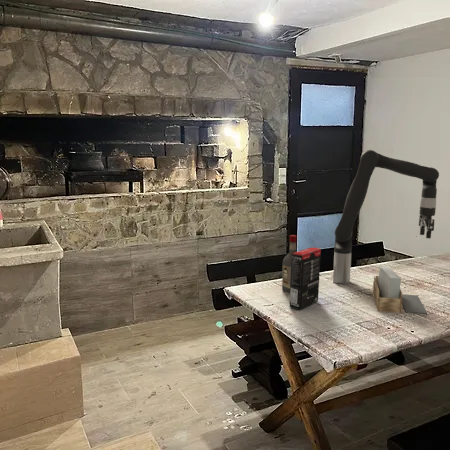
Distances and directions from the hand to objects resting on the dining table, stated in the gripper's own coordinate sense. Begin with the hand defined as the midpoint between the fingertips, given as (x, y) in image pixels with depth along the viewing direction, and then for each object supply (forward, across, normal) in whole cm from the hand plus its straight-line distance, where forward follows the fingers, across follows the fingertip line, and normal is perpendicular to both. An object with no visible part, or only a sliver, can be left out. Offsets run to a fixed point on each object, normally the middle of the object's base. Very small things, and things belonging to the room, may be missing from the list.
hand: (425, 236), depth 239 cm
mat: (+29, +25, -13) cm, 40 cm away
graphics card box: (+30, +27, -65) cm, 77 cm away
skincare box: (+29, +23, -24) cm, 44 cm away
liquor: (+30, +6, -70) cm, 76 cm away
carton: (+29, +23, -25) cm, 44 cm away
